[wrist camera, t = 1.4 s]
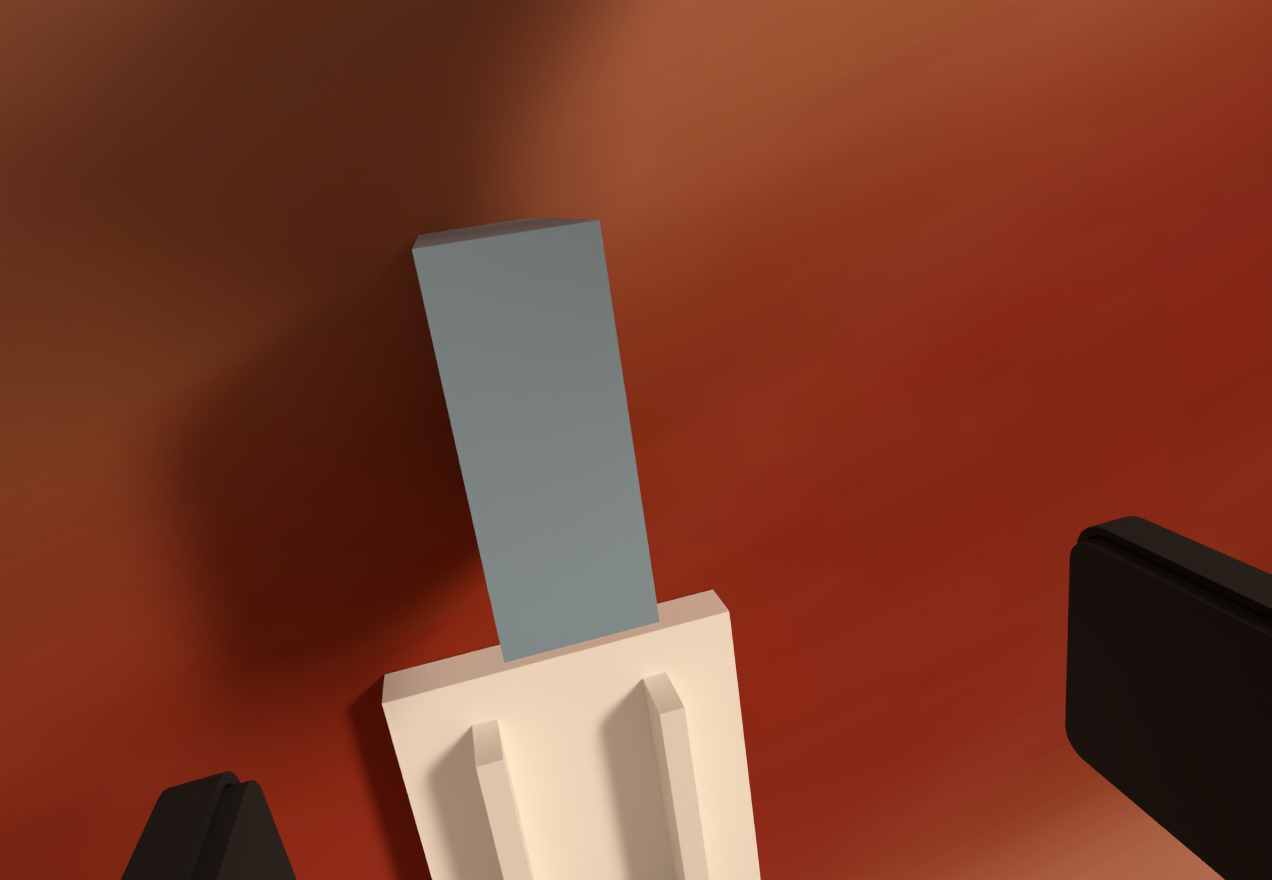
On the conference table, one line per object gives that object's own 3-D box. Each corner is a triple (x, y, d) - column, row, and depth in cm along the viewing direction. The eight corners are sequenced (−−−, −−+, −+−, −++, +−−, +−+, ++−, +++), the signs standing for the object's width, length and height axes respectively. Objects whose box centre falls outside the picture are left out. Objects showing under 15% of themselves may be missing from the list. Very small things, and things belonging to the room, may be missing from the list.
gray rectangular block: (418, 234, 27) (412, 249, 16) (531, 217, 28) (599, 220, 17) (476, 497, 30) (504, 662, 19) (576, 475, 31) (659, 621, 20)
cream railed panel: (384, 674, 31) (373, 795, 25) (712, 589, 34) (779, 678, 28) (471, 982, 37) (480, 1149, 30) (749, 887, 39) (813, 1021, 33)
